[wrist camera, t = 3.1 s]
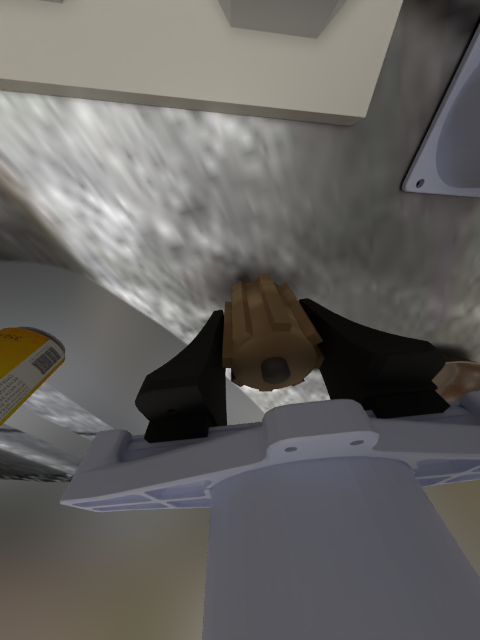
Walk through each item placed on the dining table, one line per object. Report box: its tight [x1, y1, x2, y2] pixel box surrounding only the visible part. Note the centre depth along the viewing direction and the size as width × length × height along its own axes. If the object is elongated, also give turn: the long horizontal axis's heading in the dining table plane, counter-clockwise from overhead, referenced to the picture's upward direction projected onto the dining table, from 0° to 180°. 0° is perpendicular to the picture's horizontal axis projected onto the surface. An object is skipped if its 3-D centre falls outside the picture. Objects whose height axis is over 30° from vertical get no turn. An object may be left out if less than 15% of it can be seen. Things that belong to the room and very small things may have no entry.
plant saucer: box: [432, 357, 480, 402], centre depth 28 cm, size 21×21×3 cm
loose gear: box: [222, 274, 324, 391], centre depth 11 cm, size 5×5×7 cm
